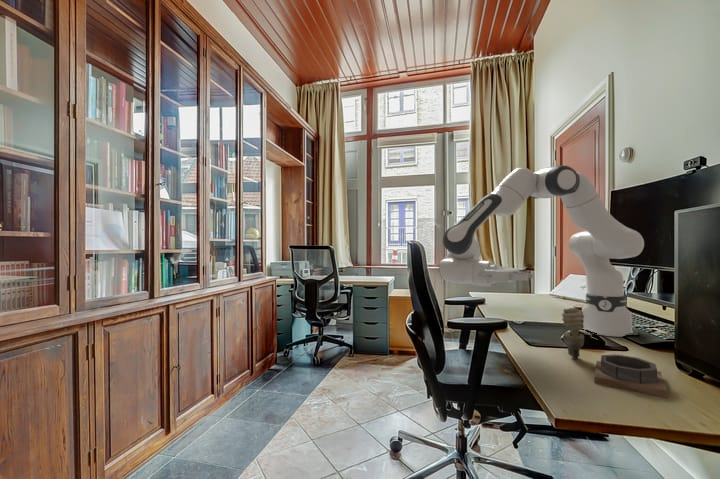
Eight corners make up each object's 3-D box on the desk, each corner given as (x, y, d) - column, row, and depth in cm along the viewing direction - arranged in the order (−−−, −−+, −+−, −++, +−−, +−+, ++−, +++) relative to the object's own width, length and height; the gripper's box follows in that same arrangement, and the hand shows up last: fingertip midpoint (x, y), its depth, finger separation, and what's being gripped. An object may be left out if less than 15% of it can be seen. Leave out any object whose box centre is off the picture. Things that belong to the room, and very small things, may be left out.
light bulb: (589, 362, 91) (587, 310, 91) (568, 361, 92) (566, 309, 92) (580, 355, 97) (578, 306, 97) (560, 354, 98) (558, 306, 98)
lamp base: (596, 366, 88) (596, 350, 88) (660, 377, 80) (660, 359, 80) (594, 382, 78) (593, 364, 78) (667, 397, 70) (666, 377, 70)
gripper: (476, 265, 101) (524, 268, 93) (492, 263, 118) (534, 266, 109) (476, 284, 101) (524, 289, 93) (492, 280, 118) (534, 284, 109)
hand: (530, 277), depth 101 cm, fingers open, 8 cm apart
